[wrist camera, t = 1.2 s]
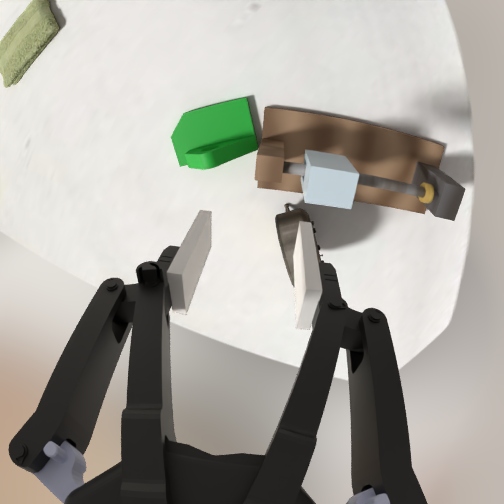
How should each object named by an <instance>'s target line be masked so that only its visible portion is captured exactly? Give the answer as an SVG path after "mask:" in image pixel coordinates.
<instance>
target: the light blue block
mask: <svg viewBox="0 0 504 504" xmlns="http://www.w3.org/2000/svg"><path fill="white" fill-rule="evenodd" d="M303 164H306V170H305V176H302V175H301V184H302V190H303V195H304V200H305V203H310V204H318V205H325V206H332V207H338V208H345V209H351V208H352V204H353V200H354V195H355V191H356V187H357V183H358V178H359V173H358V172H357V170H356V169H355V168H354V166H353V165H352V164H351V163H350V161H349V160H348V159H347V158H346V156H342V155H337V154H331V153H325V152H319V151H312V150H305V154H304V161H303Z"/></svg>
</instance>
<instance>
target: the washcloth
mask: <svg viewBox="0 0 504 504" xmlns="http://www.w3.org/2000/svg"><path fill="white" fill-rule="evenodd" d="M49 7H50V4H49V1H48V0H32V1H31V3H30V4H29V5H28V6H27V8H26V9H25V11H24V12H23V13H22V14H21V15H20V16H19V17H18V19H17V20H16V22H15V23H14V24H13V25H12V27H11V28H10V30H9V31H8V32H7V33H6V35H5V36H4V37H3V39H2V40H1V41H0V73H1V74H2V76H3V80H4V86H5V87H6V88H7V87H10V86H11V84H13V85H16V84H17V83H18V81H19V80H20V78H21V77H22V76H23V74H24V73H25V72H26V70H27V69H28V67H29V66H30V65H31V64H32V63H33V61H34V60H35V59H36V58H37V56H38V55H39V54H40V52H41V51H42V50H43V49H44V48H45V46H46V45H47V44H48V43H49V42H50V41H51V39H52V38H53V37H54V36H55V35H56V34H57V31H58V30H59V26H58V24H57V22H56V21H55V18H54V15H53V13H51V10H50V8H49Z"/></svg>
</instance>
